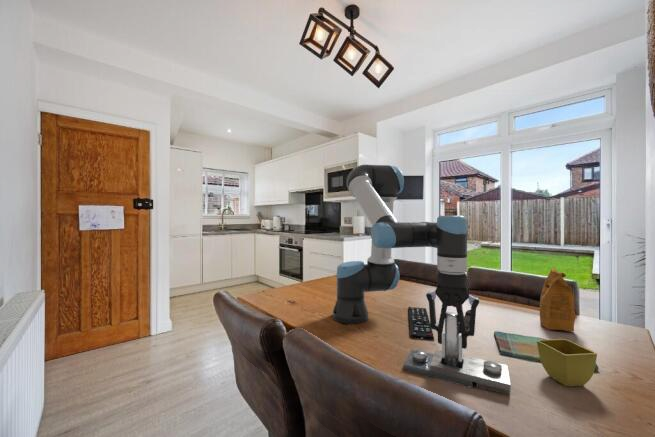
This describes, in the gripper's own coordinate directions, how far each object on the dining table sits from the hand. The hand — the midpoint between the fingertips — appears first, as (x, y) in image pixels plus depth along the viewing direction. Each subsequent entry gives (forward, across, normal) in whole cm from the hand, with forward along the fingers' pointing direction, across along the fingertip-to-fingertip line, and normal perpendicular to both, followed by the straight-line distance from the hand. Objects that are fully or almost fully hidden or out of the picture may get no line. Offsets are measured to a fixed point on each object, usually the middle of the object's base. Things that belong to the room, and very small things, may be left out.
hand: (452, 357), depth 76 cm
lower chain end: (+4, -3, 0) cm, 5 cm away
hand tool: (+5, +1, +38) cm, 38 cm away
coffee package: (+4, +32, +54) cm, 63 cm away
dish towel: (+5, +23, +27) cm, 36 cm away
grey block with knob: (+4, +4, 0) cm, 6 cm away
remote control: (+5, -15, +33) cm, 37 cm away
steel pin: (+3, 0, 0) cm, 3 cm away
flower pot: (+4, +26, +10) cm, 28 cm away
